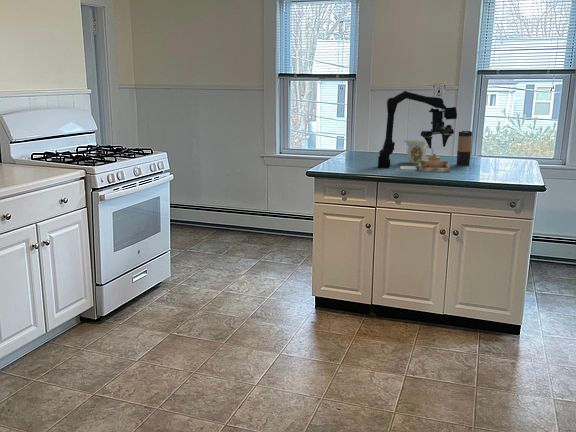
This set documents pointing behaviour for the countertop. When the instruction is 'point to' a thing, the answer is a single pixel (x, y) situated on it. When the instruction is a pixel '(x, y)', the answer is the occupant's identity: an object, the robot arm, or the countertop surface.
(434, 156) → the pot
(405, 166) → the tile
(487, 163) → the countertop surface
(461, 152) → the travel mug
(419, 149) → the pitcher
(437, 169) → the wooden tray
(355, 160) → the countertop surface
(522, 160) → the countertop surface
